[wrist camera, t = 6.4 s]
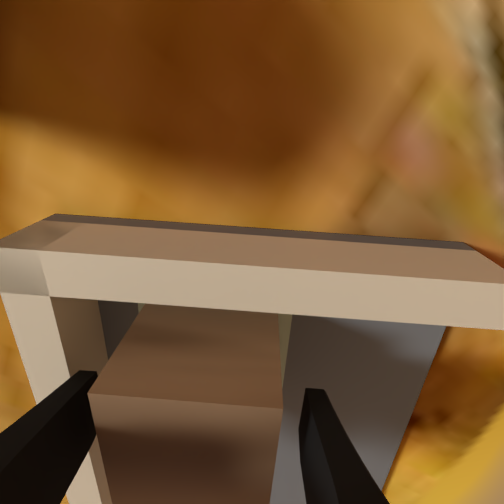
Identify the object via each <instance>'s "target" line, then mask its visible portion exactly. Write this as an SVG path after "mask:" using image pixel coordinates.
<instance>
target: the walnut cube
mask: <svg viewBox="0 0 504 504" xmlns="http://www.w3.org/2000/svg"><path fill="white" fill-rule="evenodd" d="M87 394H88V398H89V403H90V407H91V412H92V416H93V421H94V425H95V429H96V434H97V438H98V443H99V447H100V452H101V456H102V461H103V465H104V469H105V474H106V478H107V483H108V487H109V492H110V496H111V501H112V504H270V497H271V490H272V483H273V476H274V470H275V463H276V456H277V449H278V442H279V435H280V428H281V421H282V414H283V395H282V377H281V359H280V342H279V324H278V313H267V312H254V311H240V310H227V309H213V308H200V307H186V306H173V305H159V304H146V303H145V305H144V306H143V308H142V309H141V311H140V312H139V314H138V315H137V317H136V318H135V320H134V322H133V323H132V325H131V326H130V328H129V329H128V331H127V332H126V334H125V336H124V337H123V339H122V340H121V342H120V343H119V345H118V346H117V348H116V350H115V351H114V353H113V354H112V356H111V357H110V359H109V360H108V362H107V363H106V365H105V367H104V368H103V370H102V371H101V373H100V374H99V376H98V377H97V379H96V381H95V382H94V384H93V385H92V387H91V388H90V390H89V391H88V393H87Z"/></svg>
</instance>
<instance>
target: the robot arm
mask: <svg viewBox="0 0 504 504" xmlns="http://www.w3.org/2000/svg"><path fill="white" fill-rule="evenodd" d="M97 377H98V374H97V371H86V370H79V371H78V372H77V373H75V374H74V375H73V376H72V377H70V378H69V379H68V380H67V381H65V382H64V383H63V384H62V385H60V386H59V387H58V388H57V389H55V390H54V391H53V392H52V393H51V394H49V395H48V396H47V397H46V398H44V399H43V400H42V401H41V402H40V403H38V404H37V405H36V406H35V407H33V408H32V409H31V410H30V411H28V412H27V413H26V414H25V415H23V416H22V417H21V418H19V419H18V420H17V421H16V422H14V423H13V424H12V425H11V426H9V427H8V428H7V429H5V430H4V431H3V432H1V433H0V504H60V503H61V501H62V499H63V497H64V496H65V494H66V492H67V490H68V488H69V486H70V485H71V483H72V481H73V479H74V477H75V476H76V474H77V472H78V470H79V468H80V466H81V464H82V463H83V461H84V459H85V457H86V455H87V453H88V451H89V450H90V448H91V446H92V444H93V441H94V439H95V437H96V429H95V425H94V421H93V416H92V412H91V407H90V403H89V398H88V394H87V393H88V391H89V390H90V388H91V387H92V385H93V384H94V382H95V381H96V379H97ZM298 432H299V451H300V464H301V471H302V478H303V485H304V491H305V498H306V504H390V503H389V502H388V501H387V499H386V498H385V496H384V494H383V493H382V491H381V490H380V488H379V487H378V485H377V484H376V482H375V481H374V479H373V477H372V476H371V474H370V473H369V471H368V469H367V468H366V466H365V464H364V463H363V461H362V459H361V458H360V456H359V454H358V453H357V451H356V449H355V447H354V446H353V444H352V442H351V440H350V439H349V437H348V435H347V433H346V431H345V429H344V428H343V426H342V424H341V422H340V420H339V418H338V416H337V414H336V412H335V410H334V408H333V406H332V404H331V402H330V399H329V397H328V395H327V393H326V391H325V390H324V389H316V388H305V394H304V399H303V405H302V411H301V416H300V422H299V427H298Z"/></svg>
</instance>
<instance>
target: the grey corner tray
mask: <svg viewBox="0 0 504 504" xmlns="http://www.w3.org/2000/svg"><path fill="white" fill-rule="evenodd" d="M0 294H1V297H2V300H3V303H4V306H5V309H6V312H7V315H8V318H9V321H10V324H11V327H12V330H13V333H14V337H15V340H16V343H17V346H18V349H19V352H20V355H21V358H22V361H23V364H24V367H25V370H26V373H27V376H28V379H29V382H30V385H31V388H32V391H33V395H34V398H35V401H36V404H38V403H40V402H41V401H42V400H43V399H44V398H46V397H47V396H48V395H49V394H51V393H52V392H53V391H54V390H55V389H57V388H58V387H59V386H60V385H62V384H63V383H64V382H65V381H67V380H68V379H69V378H70V377H72V376H73V375H74V374H75V373H77V372H78V371H79V370H86V371H97V374H98V376H99V374H100V373H101V371H102V370H103V368H104V367H105V365H106V363H107V362H108V360H109V359H110V357H111V356H112V354H113V353H114V351H115V350H116V348H117V346H118V345H119V343H120V342H121V340H122V339H123V337H124V336H125V334H126V332H127V331H128V329H129V328H130V326H131V325H132V323H133V322H134V320H135V318H136V317H137V315H138V314H139V312H140V311H141V309H142V308H143V306H144V305H145V303H146V304H159V305H173V306H186V307H200V308H213V309H227V310H240V311H254V312H267V313H278V324H279V342H280V359H281V377H282V395H283V414H282V421H281V428H280V435H279V442H278V449H277V456H276V463H275V470H274V476H273V483H272V490H271V497H270V504H306V498H305V491H304V485H303V478H302V471H301V464H300V451H299V432H298V427H299V422H300V416H301V411H302V405H303V399H304V394H305V388H316V389H324V390H325V391H326V393H327V395H328V397H329V399H330V402H331V404H332V406H333V408H334V410H335V412H336V414H337V416H338V418H339V420H340V422H341V424H342V426H343V428H344V429H345V431H346V433H347V435H348V437H349V439H350V440H351V442H352V444H353V446H354V447H355V449H356V451H357V453H358V454H359V456H360V458H361V459H362V461H363V463H364V464H365V466H366V468H367V469H368V471H369V473H370V474H371V476H372V477H373V479H374V481H375V482H376V484H377V485H378V487H379V488H380V490H381V491H382V488H383V486H384V483H385V481H386V478H387V475H388V473H389V470H390V468H391V465H392V463H393V460H394V458H395V455H396V453H397V450H398V448H399V445H400V442H401V440H402V437H403V435H404V432H405V430H406V427H407V425H408V422H409V420H410V417H411V415H412V412H413V410H414V407H415V404H416V402H417V399H418V397H419V394H420V392H421V389H422V387H423V384H424V382H425V379H426V377H427V374H428V371H429V369H430V366H431V364H432V361H433V359H434V356H435V354H436V351H437V349H438V346H439V344H440V341H441V338H442V336H443V333H444V331H445V328H446V326H455V327H468V328H482V329H495V330H504V269H503V268H502V267H500V266H499V265H497V264H496V263H494V262H493V261H491V260H490V259H488V258H486V257H485V256H483V255H482V254H480V253H479V252H477V251H476V250H474V249H473V248H471V247H470V246H468V245H466V244H465V243H463V242H451V241H437V240H422V239H408V238H394V237H379V236H365V235H351V234H337V233H322V232H308V231H294V230H279V229H265V228H251V227H237V226H222V225H208V224H194V223H179V222H165V221H151V220H137V219H122V218H108V217H94V216H79V215H65V214H54V215H51V216H49V217H47V218H45V219H43V220H41V221H39V222H36V223H34V224H32V225H30V226H28V227H26V228H24V229H22V230H19V231H17V232H15V233H13V234H11V235H9V236H7V237H4V238H2V239H0ZM66 495H67V498H68V501H69V504H112V501H111V496H110V492H109V487H108V483H107V478H106V474H105V469H104V465H103V461H102V456H101V452H100V447H99V443H98V438H97V434H96V437H95V439H94V441H93V444H92V446H91V448H90V450H89V451H88V453H87V455H86V457H85V459H84V461H83V463H82V464H81V466H80V468H79V470H78V472H77V474H76V476H75V477H74V479H73V481H72V483H71V485H70V486H69V488H68V490H67V492H66Z"/></svg>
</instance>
